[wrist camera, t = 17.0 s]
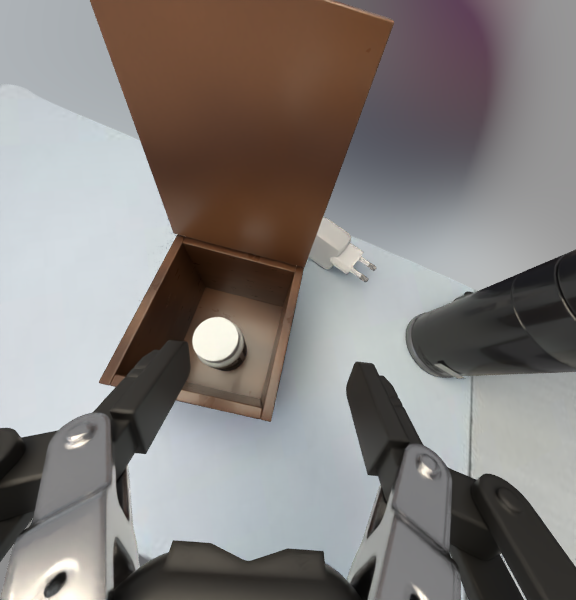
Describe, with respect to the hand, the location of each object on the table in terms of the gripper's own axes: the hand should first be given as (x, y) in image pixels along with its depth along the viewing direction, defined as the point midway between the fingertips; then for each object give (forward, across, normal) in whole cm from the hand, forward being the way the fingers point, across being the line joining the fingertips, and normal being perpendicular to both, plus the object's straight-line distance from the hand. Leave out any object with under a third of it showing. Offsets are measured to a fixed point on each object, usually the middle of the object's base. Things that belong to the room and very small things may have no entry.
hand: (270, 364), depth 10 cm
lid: (+8, +4, -8) cm, 12 cm away
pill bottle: (+13, +6, +11) cm, 18 cm away
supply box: (+14, +5, +11) cm, 19 cm away
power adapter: (+26, -8, +2) cm, 27 cm away
